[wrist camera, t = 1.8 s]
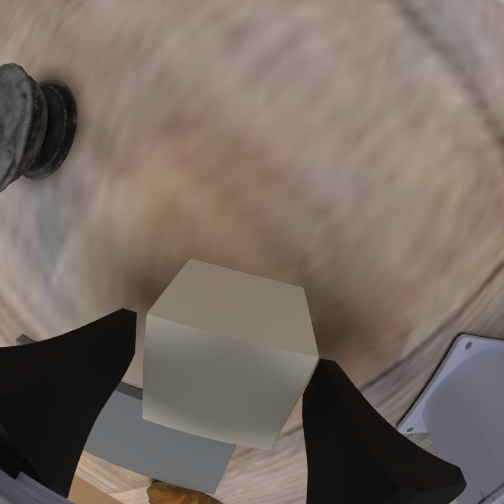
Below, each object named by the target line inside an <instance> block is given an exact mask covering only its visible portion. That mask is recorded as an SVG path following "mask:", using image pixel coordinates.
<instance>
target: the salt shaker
mask: <svg viewBox="0 0 504 504" xmlns="http://www.w3.org/2000/svg"><path fill="white" fill-rule="evenodd" d="M76 119H77V112H76V104H75V100H74V97H73V95H72V92H71V91H70V90H69V88H68V87H67V86H66V85H65V84H63V83H61V82H59V81H57V80H46V81H44V82H41V83H38V84H37V83H36V82H35V80H34V79H33V78H32V77H31V76H29V75H28V74H27V73H26V72H25V70H24V69H23V68H22V67H21V66H19V65H17V64H14V63H9V64H3V65H2V66H0V192H2V191H3V190H5V189H6V187H7V186H8V185H9V184H10V183H12V182H14V181H15V180H17V179H18V178H19V177H20V176H22V175H24V176H25V177H27V178H30V179H33V180H36V179H44V178H45V177H47V176H49V175H51V174H53V173H54V172H55V171H56V170H57V169H58V168H59V167H60V166H61V164H62V163H63V161H64V159H65V158H66V156H67V155H68V152H69V150H70V147H71V145H72V143H73V139H74V134H75V130H76Z"/></svg>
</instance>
